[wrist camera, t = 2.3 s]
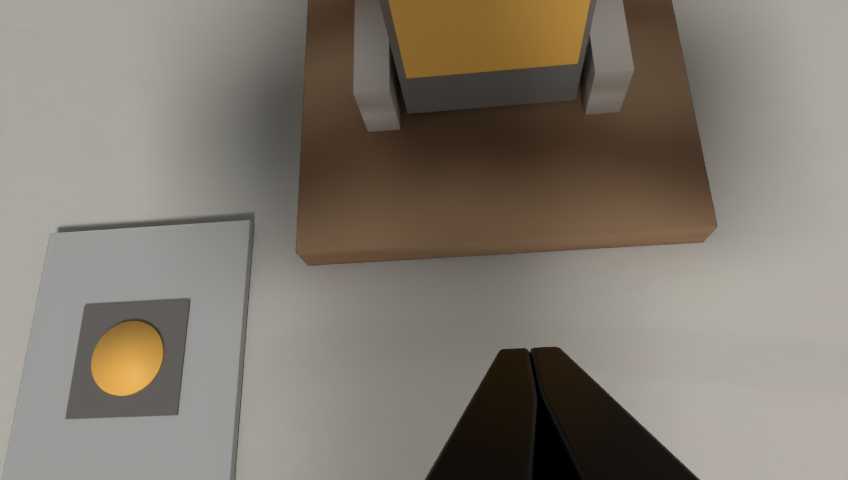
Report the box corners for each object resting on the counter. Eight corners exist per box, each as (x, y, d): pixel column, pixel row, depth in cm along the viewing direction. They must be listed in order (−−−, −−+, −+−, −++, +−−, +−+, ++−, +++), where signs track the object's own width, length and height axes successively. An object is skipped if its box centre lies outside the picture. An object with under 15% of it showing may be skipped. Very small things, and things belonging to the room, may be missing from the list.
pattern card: (232, 509, 20) (224, 510, 20) (3, 514, 21) (-11, 515, 20) (253, 223, 24) (248, 217, 23) (57, 236, 24) (46, 231, 24)
